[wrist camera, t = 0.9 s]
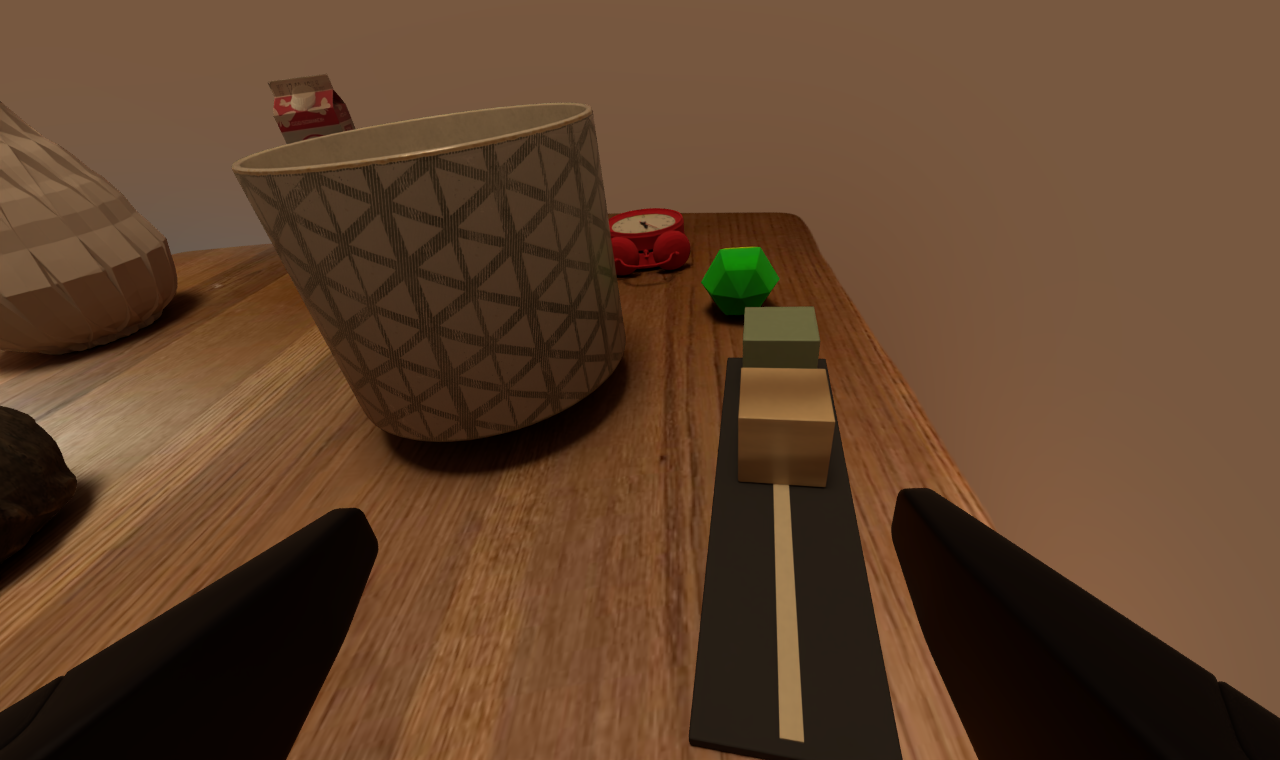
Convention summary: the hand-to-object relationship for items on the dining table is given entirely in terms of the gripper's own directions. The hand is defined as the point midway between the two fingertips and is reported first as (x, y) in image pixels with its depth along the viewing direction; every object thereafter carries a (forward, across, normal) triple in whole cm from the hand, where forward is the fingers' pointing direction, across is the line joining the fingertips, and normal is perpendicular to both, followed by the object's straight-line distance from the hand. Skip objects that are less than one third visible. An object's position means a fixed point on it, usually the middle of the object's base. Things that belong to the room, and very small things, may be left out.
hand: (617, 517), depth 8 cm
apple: (+38, -6, +11) cm, 39 cm away
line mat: (+15, -6, +13) cm, 21 cm away
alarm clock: (+51, +3, +9) cm, 52 cm away
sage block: (+24, -7, +11) cm, 28 cm away
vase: (+43, +67, +10) cm, 80 cm away
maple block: (+17, -6, +12) cm, 22 cm away
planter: (+26, +13, +12) cm, 31 cm away
